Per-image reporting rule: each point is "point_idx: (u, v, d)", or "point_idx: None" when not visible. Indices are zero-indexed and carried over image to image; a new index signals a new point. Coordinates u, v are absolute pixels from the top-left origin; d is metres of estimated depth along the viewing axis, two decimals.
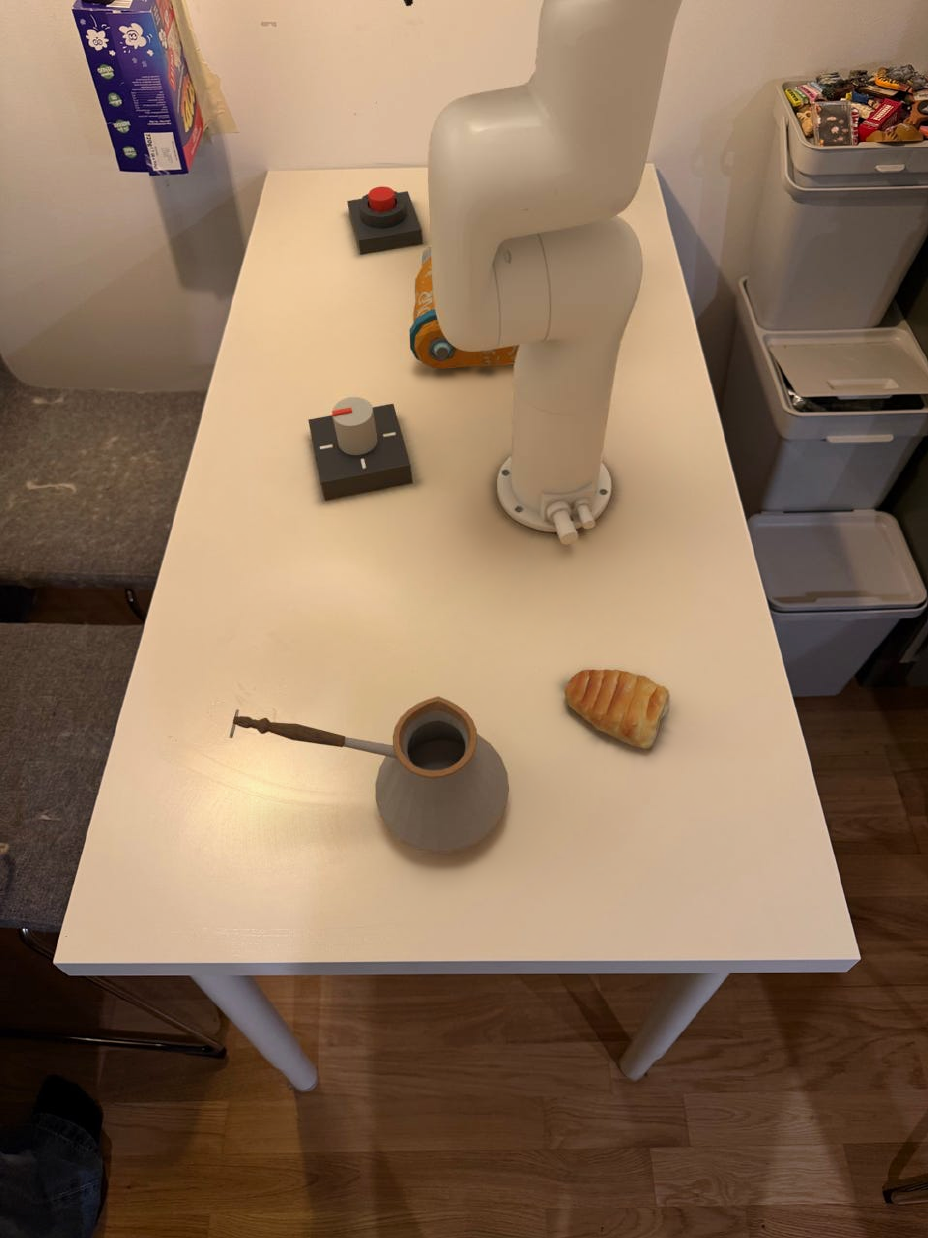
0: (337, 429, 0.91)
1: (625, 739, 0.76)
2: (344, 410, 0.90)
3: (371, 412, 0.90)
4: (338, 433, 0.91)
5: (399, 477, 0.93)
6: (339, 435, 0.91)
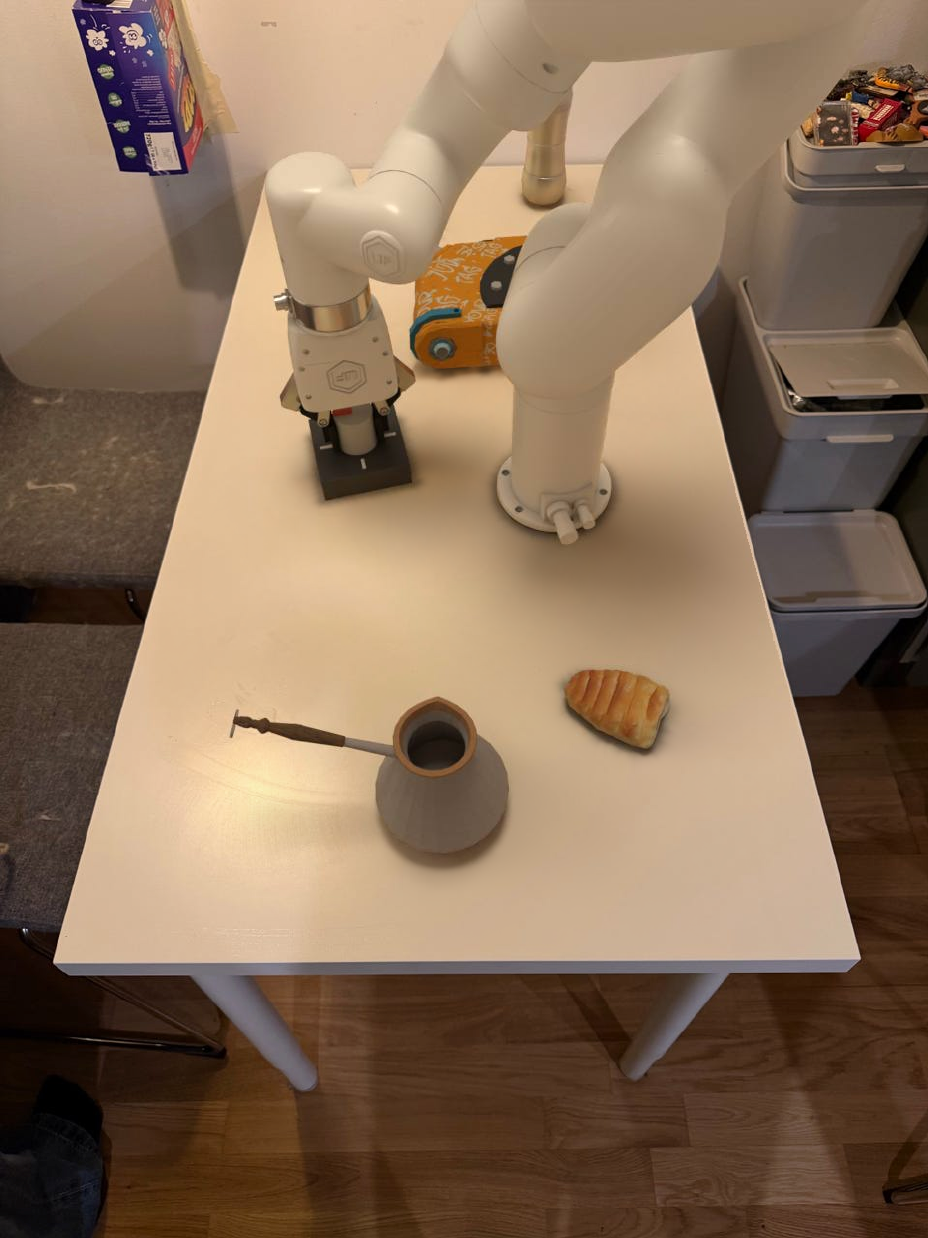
0: (337, 429, 0.91)
1: (625, 739, 0.76)
2: (344, 410, 0.90)
3: (371, 412, 0.90)
4: (338, 433, 0.91)
5: (399, 477, 0.93)
6: (339, 435, 0.91)
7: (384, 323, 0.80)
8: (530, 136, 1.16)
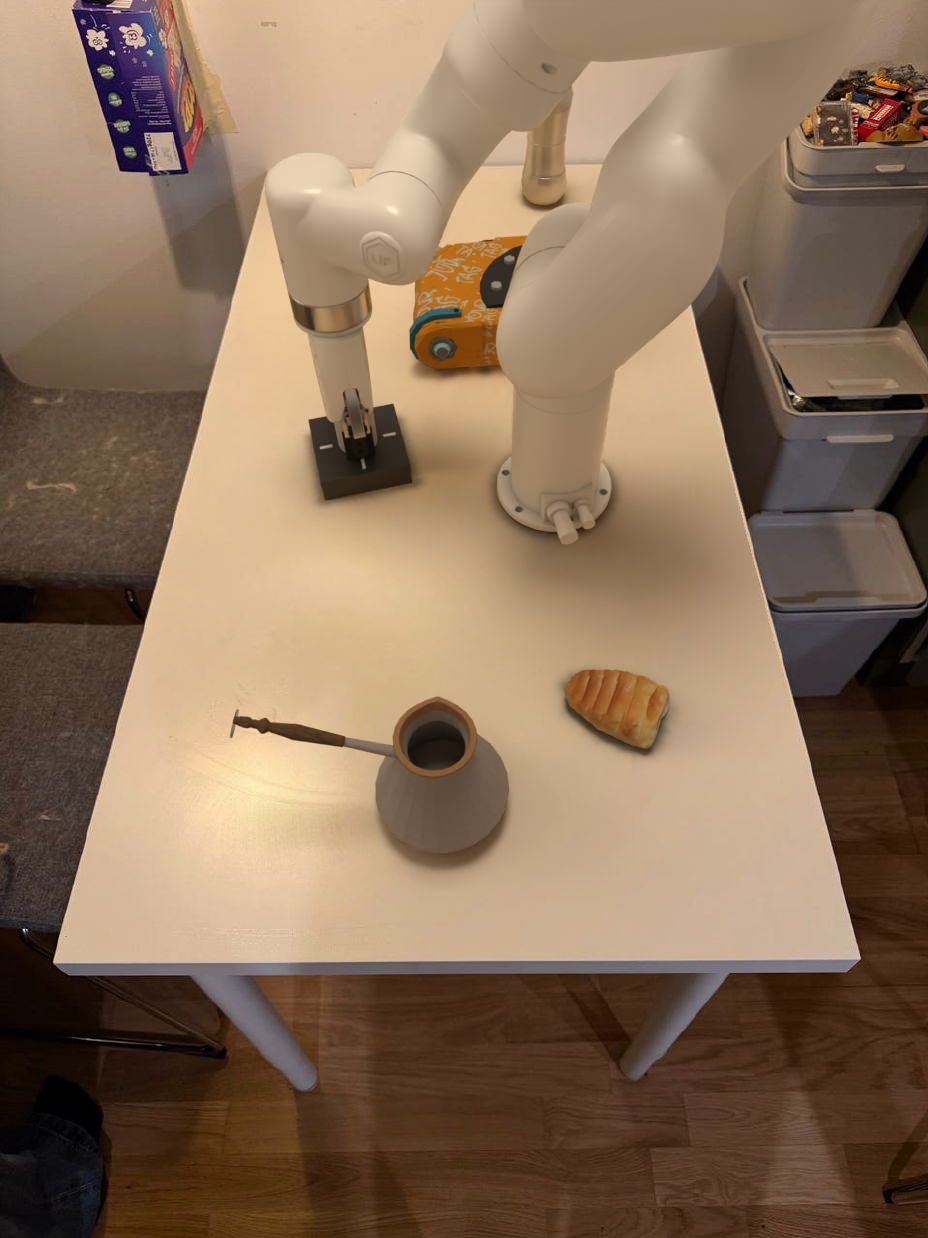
0: None
1: (625, 739, 0.76)
2: None
3: (348, 425, 0.89)
4: None
5: (399, 477, 0.93)
6: None
7: (325, 355, 0.78)
8: (530, 136, 1.16)
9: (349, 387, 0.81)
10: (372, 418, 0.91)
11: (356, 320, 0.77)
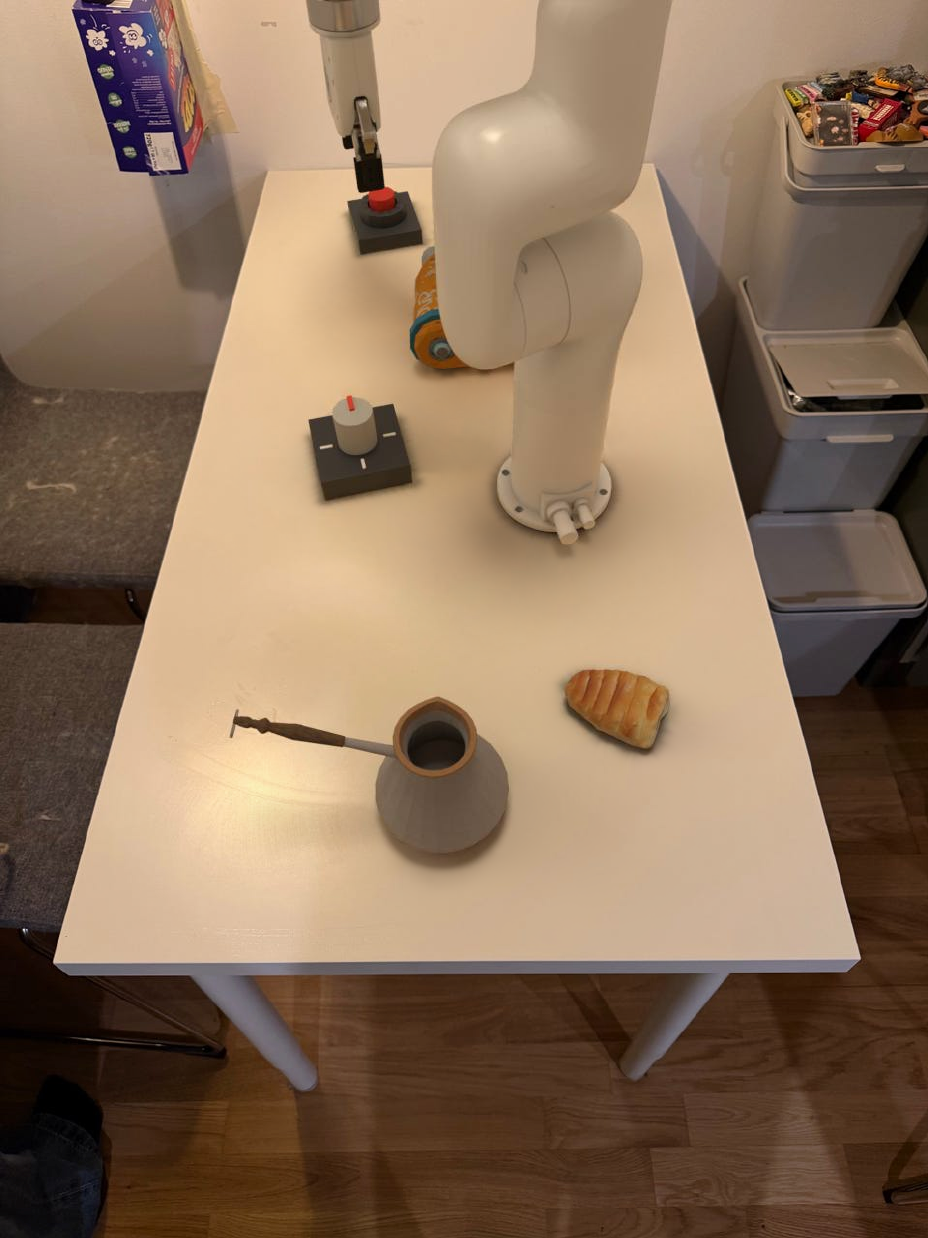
0: None
1: (625, 739, 0.76)
2: (350, 403, 0.91)
3: (348, 425, 0.89)
4: None
5: (399, 477, 0.93)
6: None
7: (338, 55, 0.87)
8: None
9: (359, 94, 0.90)
10: (372, 418, 0.91)
11: (366, 21, 0.86)
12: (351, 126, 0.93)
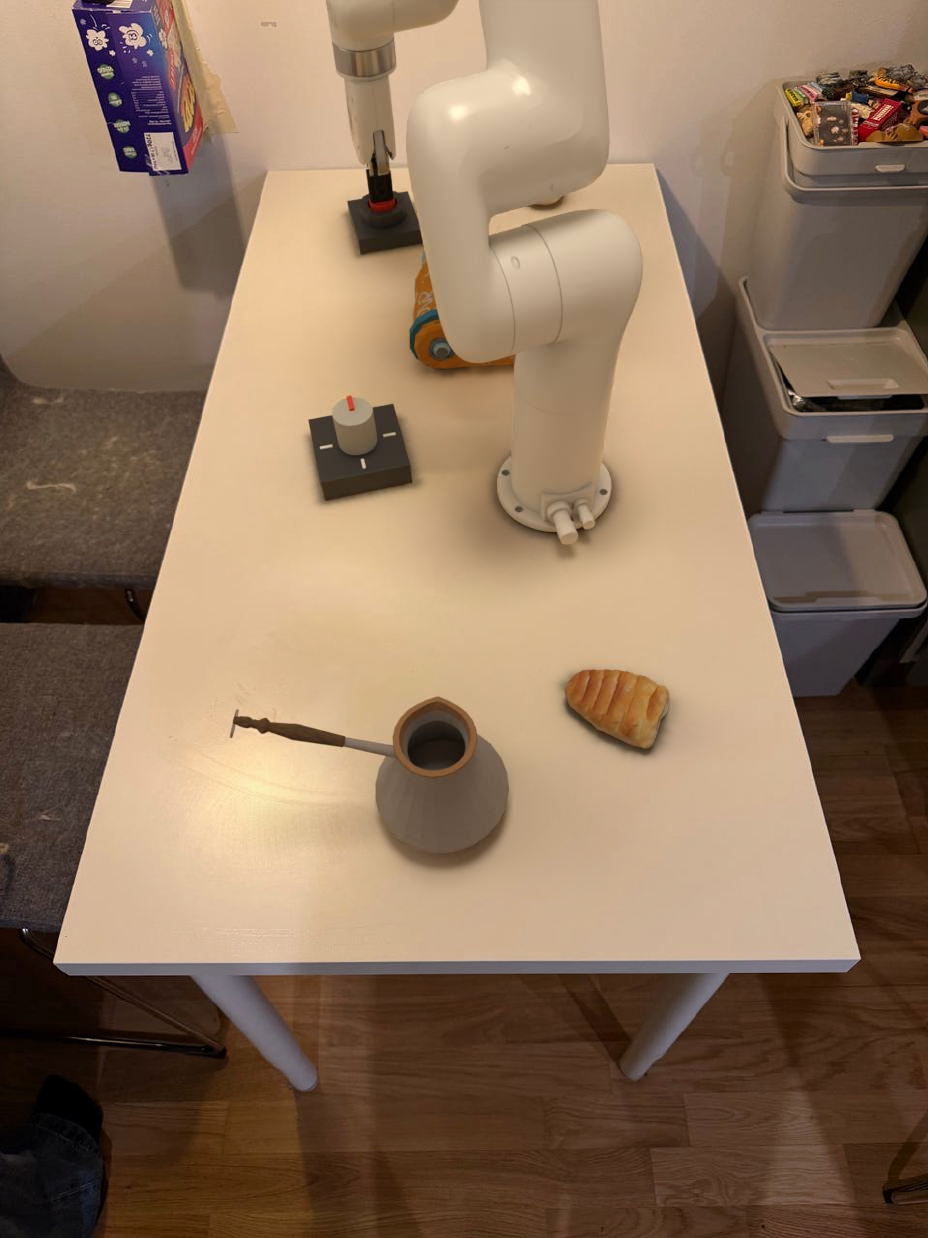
0: None
1: (625, 739, 0.76)
2: (350, 403, 0.91)
3: (348, 425, 0.89)
4: None
5: (399, 477, 0.93)
6: None
7: (360, 96, 1.02)
8: None
9: (378, 128, 1.05)
10: (372, 418, 0.91)
11: (384, 67, 1.01)
12: None
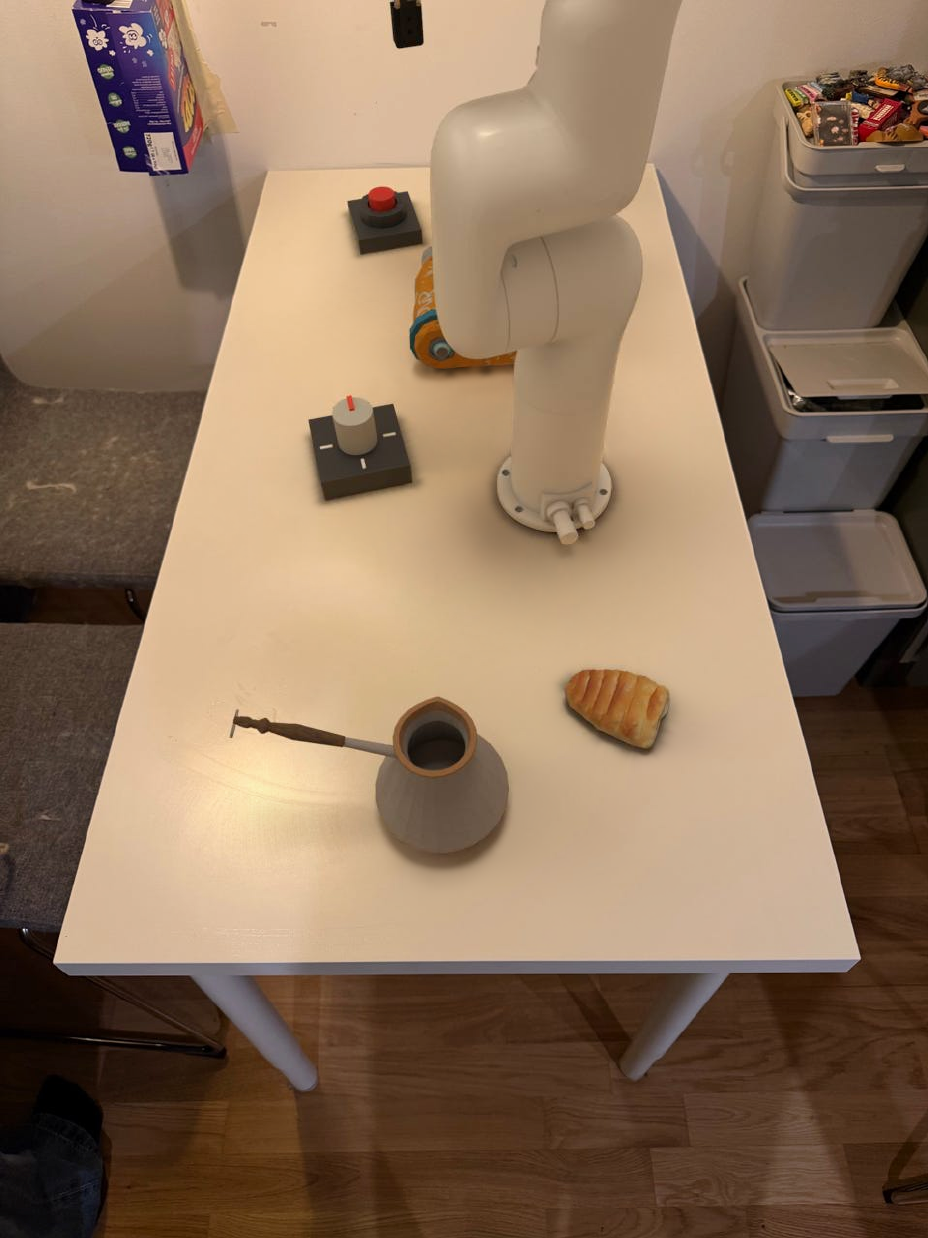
0: None
1: (625, 739, 0.76)
2: (350, 403, 0.91)
3: (348, 425, 0.89)
4: None
5: (399, 477, 0.93)
6: None
7: None
8: None
9: None
10: (372, 418, 0.91)
11: None
12: None
